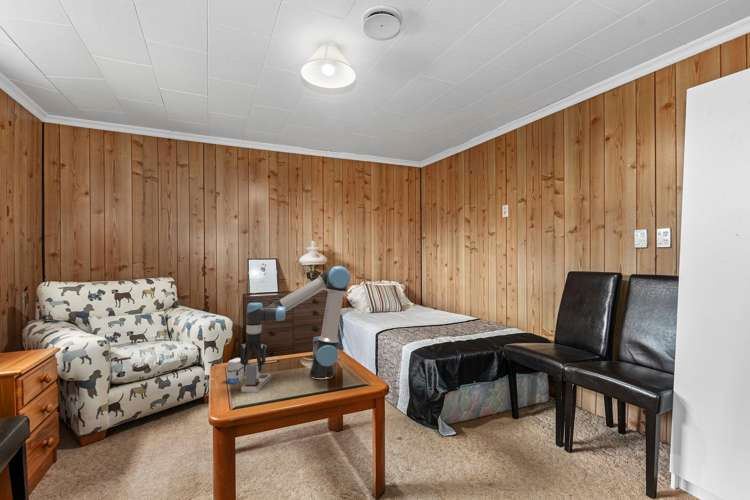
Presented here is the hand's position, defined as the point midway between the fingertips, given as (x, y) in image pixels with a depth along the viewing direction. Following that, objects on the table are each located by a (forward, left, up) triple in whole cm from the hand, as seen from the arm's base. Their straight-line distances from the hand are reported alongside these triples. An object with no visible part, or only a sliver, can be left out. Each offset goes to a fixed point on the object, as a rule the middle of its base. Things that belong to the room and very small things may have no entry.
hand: (252, 377), depth 188 cm
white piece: (0, -7, -6) cm, 9 cm away
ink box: (+14, -11, -6) cm, 19 cm away
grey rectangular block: (0, 0, -4) cm, 4 cm away
